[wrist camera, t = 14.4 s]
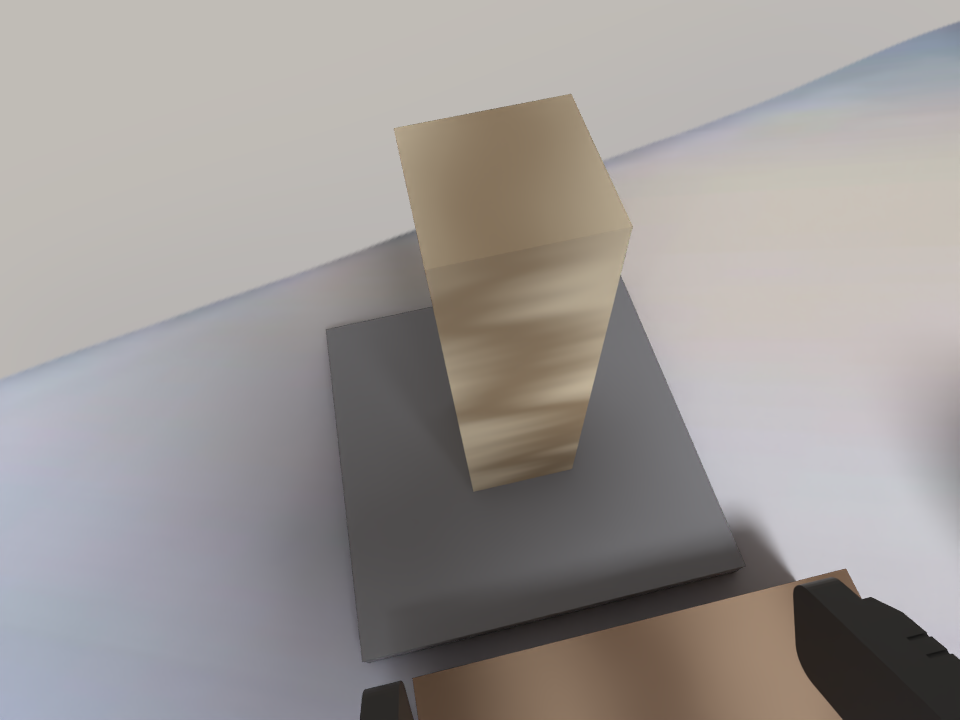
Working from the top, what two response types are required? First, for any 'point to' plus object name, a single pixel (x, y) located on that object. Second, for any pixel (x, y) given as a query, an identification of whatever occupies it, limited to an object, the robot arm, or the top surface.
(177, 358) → the top surface
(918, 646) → the robot arm
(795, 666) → the socket block
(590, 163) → the beech peg
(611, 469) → the charcoal mat
